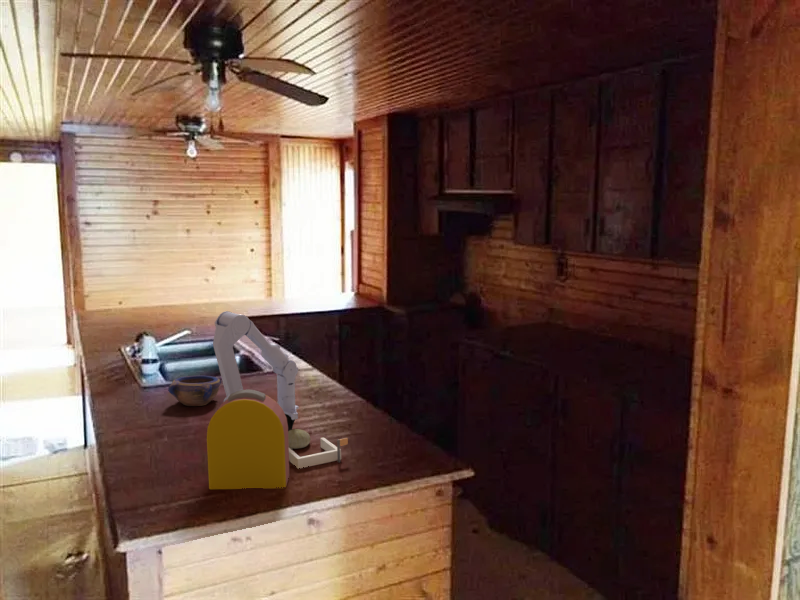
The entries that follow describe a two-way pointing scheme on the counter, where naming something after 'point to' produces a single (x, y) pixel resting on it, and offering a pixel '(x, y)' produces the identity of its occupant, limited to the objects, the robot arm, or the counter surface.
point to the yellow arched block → (248, 443)
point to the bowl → (195, 389)
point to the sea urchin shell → (298, 438)
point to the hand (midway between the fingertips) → (287, 434)
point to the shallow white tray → (319, 454)
